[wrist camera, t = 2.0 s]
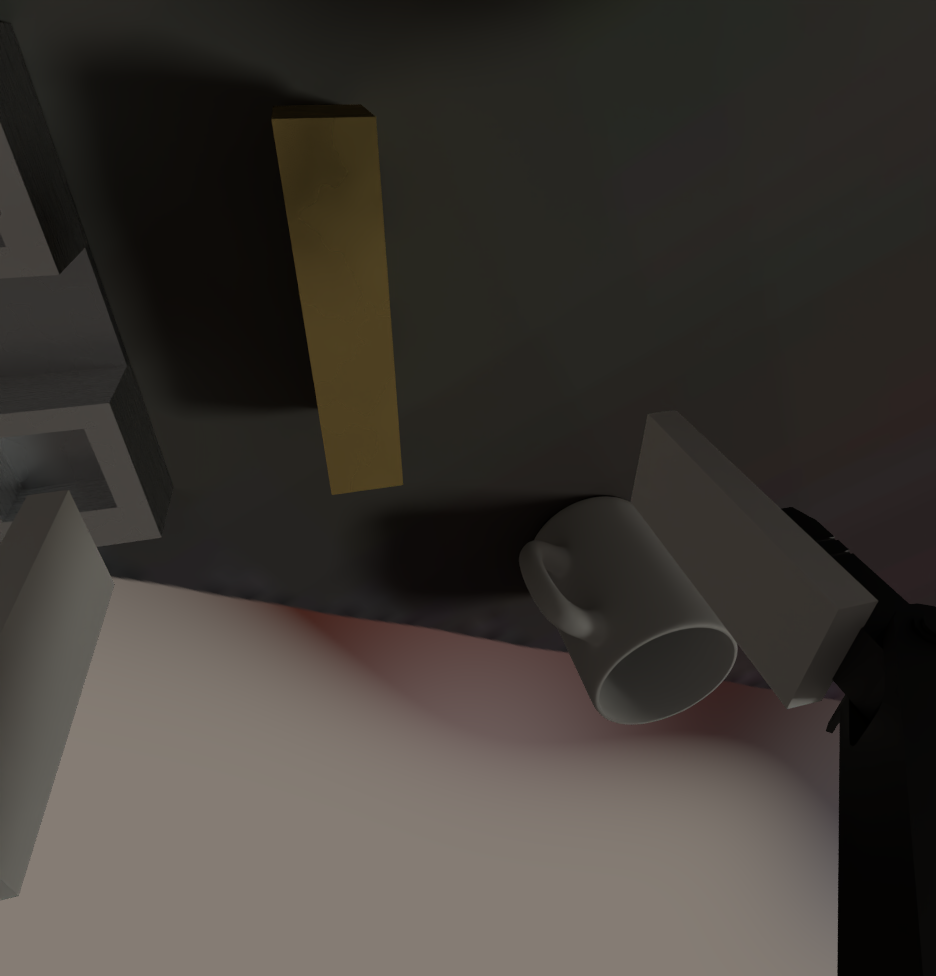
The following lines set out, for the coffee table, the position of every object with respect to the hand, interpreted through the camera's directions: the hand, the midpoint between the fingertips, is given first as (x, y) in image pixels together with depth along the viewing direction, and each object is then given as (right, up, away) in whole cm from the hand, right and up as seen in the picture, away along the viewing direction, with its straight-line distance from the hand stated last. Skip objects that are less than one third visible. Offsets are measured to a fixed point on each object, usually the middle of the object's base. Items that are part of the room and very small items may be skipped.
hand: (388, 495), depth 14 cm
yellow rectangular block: (-4, +10, +13) cm, 17 cm away
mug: (+8, -3, +26) cm, 28 cm away
